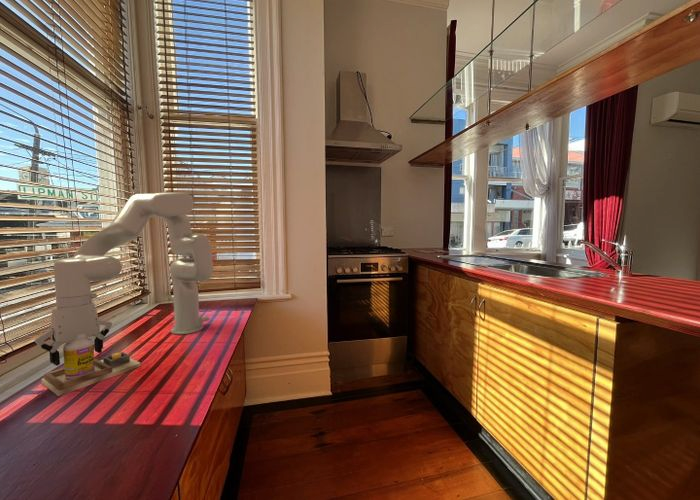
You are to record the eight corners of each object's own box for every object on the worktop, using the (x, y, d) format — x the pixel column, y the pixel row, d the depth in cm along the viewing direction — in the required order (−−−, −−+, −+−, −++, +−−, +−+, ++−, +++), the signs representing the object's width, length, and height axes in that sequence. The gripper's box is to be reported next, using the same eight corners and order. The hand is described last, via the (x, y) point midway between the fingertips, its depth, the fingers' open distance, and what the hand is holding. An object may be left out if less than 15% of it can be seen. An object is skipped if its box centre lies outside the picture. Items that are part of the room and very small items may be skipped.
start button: (119, 359, 99) (118, 352, 99) (122, 361, 98) (122, 353, 98) (110, 362, 97) (110, 354, 97) (114, 364, 96) (113, 356, 95)
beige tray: (121, 357, 104) (121, 347, 104) (140, 366, 98) (140, 356, 97) (41, 383, 87) (40, 371, 87) (58, 396, 80) (57, 383, 80)
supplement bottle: (77, 381, 85) (74, 337, 84) (58, 379, 87) (55, 336, 86) (100, 370, 92) (98, 329, 91) (83, 368, 93) (80, 328, 92)
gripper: (104, 293, 97) (107, 345, 98) (27, 306, 82) (32, 366, 83) (115, 296, 93) (118, 350, 94) (36, 310, 78) (42, 373, 79)
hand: (78, 357), depth 89 cm, fingers open, 9 cm apart
